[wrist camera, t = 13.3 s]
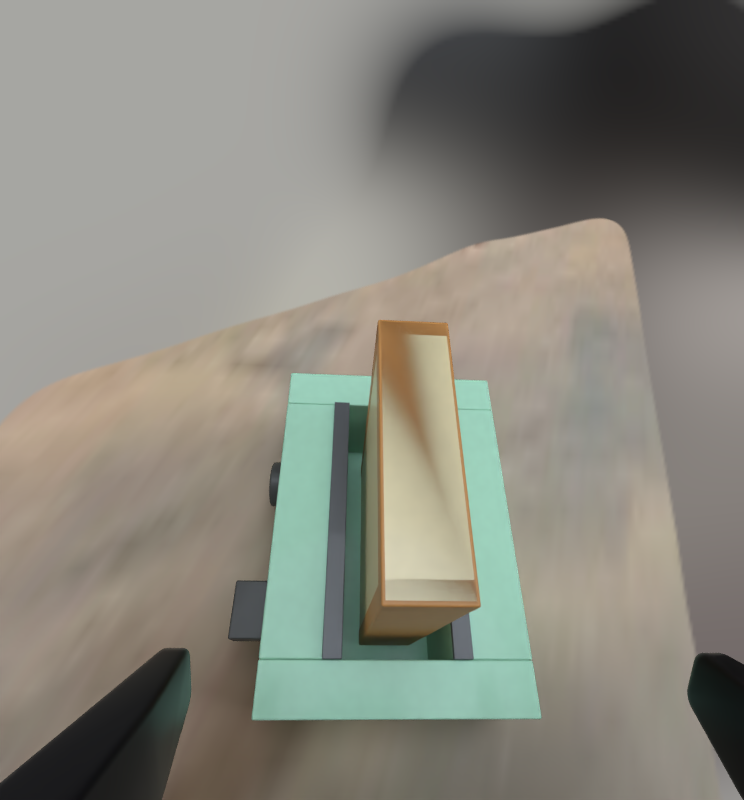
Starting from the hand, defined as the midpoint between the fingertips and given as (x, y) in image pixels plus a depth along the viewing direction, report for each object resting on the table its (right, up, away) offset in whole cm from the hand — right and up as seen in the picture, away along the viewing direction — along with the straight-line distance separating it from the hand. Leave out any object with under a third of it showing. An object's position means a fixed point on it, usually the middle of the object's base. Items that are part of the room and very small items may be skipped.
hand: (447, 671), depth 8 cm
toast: (-1, -2, +12) cm, 12 cm away
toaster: (-1, -2, +12) cm, 13 cm away
